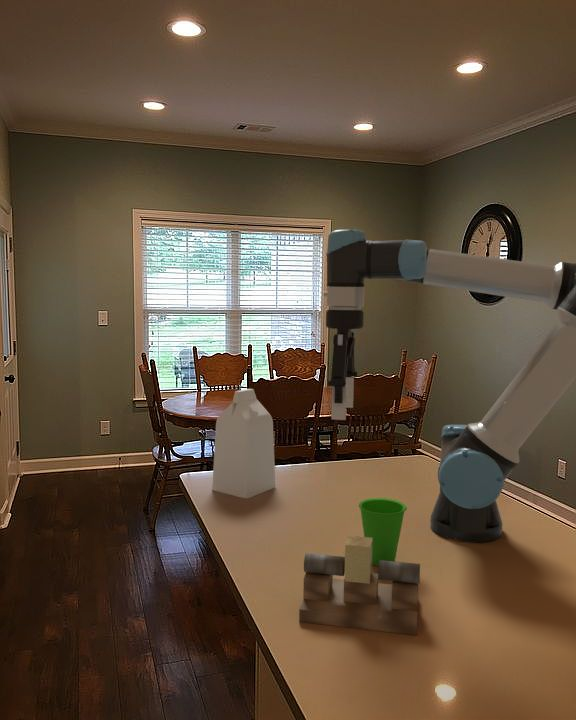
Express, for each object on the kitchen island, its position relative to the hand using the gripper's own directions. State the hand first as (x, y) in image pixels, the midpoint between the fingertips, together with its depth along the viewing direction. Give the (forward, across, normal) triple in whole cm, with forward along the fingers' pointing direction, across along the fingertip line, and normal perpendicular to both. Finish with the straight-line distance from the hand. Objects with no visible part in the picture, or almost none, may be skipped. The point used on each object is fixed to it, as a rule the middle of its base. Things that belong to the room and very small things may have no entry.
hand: (342, 413), depth 131 cm
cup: (+27, +9, +9) cm, 30 cm away
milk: (+27, -29, -29) cm, 49 cm away
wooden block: (+21, +29, +6) cm, 37 cm away
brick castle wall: (+27, +29, +7) cm, 40 cm away
